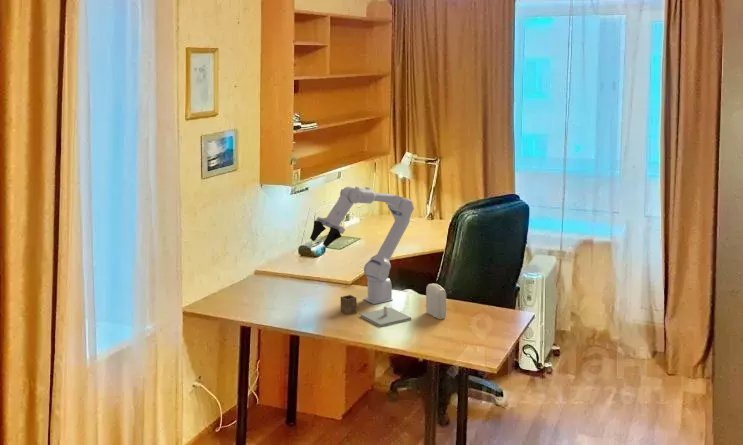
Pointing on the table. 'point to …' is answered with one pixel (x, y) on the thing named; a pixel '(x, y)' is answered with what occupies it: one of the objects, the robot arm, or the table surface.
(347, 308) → the hollow wooden block
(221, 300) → the table surface
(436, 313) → the photo printer
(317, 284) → the table surface
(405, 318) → the pin base
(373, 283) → the robot arm
